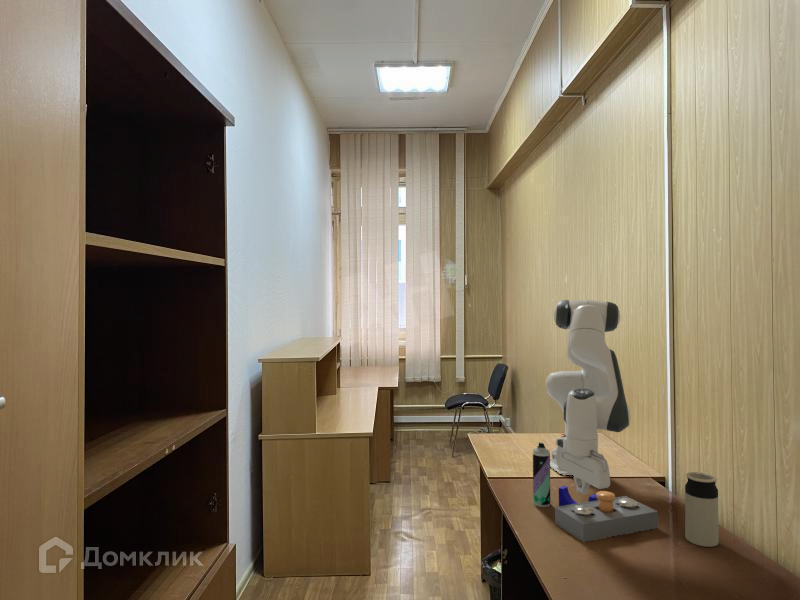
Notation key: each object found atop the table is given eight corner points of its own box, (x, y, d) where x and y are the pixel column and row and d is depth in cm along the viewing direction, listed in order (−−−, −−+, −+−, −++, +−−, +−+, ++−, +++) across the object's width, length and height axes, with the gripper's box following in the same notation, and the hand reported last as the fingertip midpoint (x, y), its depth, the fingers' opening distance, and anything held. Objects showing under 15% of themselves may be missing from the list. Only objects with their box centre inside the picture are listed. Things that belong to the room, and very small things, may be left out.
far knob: (614, 519, 163) (614, 499, 163) (628, 516, 164) (628, 497, 164) (627, 525, 158) (626, 505, 158) (641, 523, 159) (641, 503, 159)
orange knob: (592, 512, 160) (592, 492, 160) (607, 510, 162) (606, 490, 162) (604, 519, 155) (604, 498, 155) (619, 516, 157) (619, 496, 157)
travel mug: (714, 550, 143) (714, 483, 142) (681, 541, 148) (681, 476, 148) (721, 540, 148) (721, 475, 148) (689, 532, 154) (689, 469, 154)
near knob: (570, 526, 157) (569, 506, 157) (584, 524, 159) (584, 504, 159) (581, 534, 153) (581, 513, 152) (596, 531, 154) (596, 510, 154)
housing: (555, 523, 160) (555, 507, 160) (625, 511, 169) (625, 495, 169) (583, 542, 148) (583, 524, 148) (657, 528, 156) (657, 511, 156)
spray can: (529, 502, 177) (529, 441, 177) (543, 499, 179) (542, 440, 179) (540, 508, 172) (539, 446, 172) (554, 505, 174) (553, 444, 174)
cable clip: (600, 513, 168) (600, 494, 168) (593, 517, 165) (593, 497, 165) (566, 502, 177) (565, 484, 177) (558, 506, 174) (558, 487, 174)
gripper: (615, 455, 147) (616, 505, 147) (569, 435, 166) (569, 480, 167) (596, 458, 145) (597, 508, 145) (552, 437, 164) (552, 482, 165)
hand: (582, 493), depth 156 cm, fingers closed
